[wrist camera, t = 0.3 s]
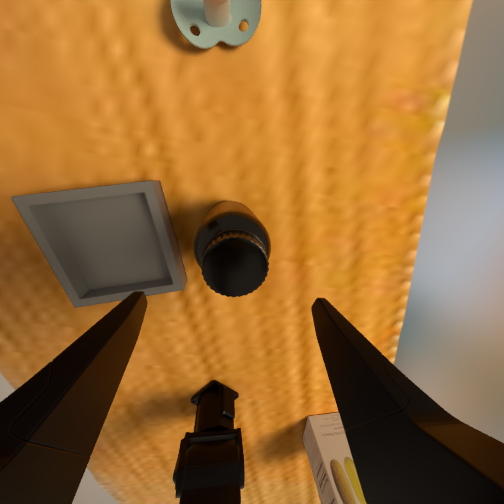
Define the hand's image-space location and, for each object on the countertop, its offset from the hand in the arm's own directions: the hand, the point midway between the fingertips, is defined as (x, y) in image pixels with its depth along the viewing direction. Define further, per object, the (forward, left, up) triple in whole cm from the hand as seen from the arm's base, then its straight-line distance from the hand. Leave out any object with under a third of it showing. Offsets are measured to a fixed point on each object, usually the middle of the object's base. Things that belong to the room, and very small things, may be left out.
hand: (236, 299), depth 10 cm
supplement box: (-18, -49, -16) cm, 54 cm away
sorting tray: (-11, +8, -15) cm, 20 cm away
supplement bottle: (0, 0, -16) cm, 15 cm away
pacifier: (+13, +15, -16) cm, 26 cm away
